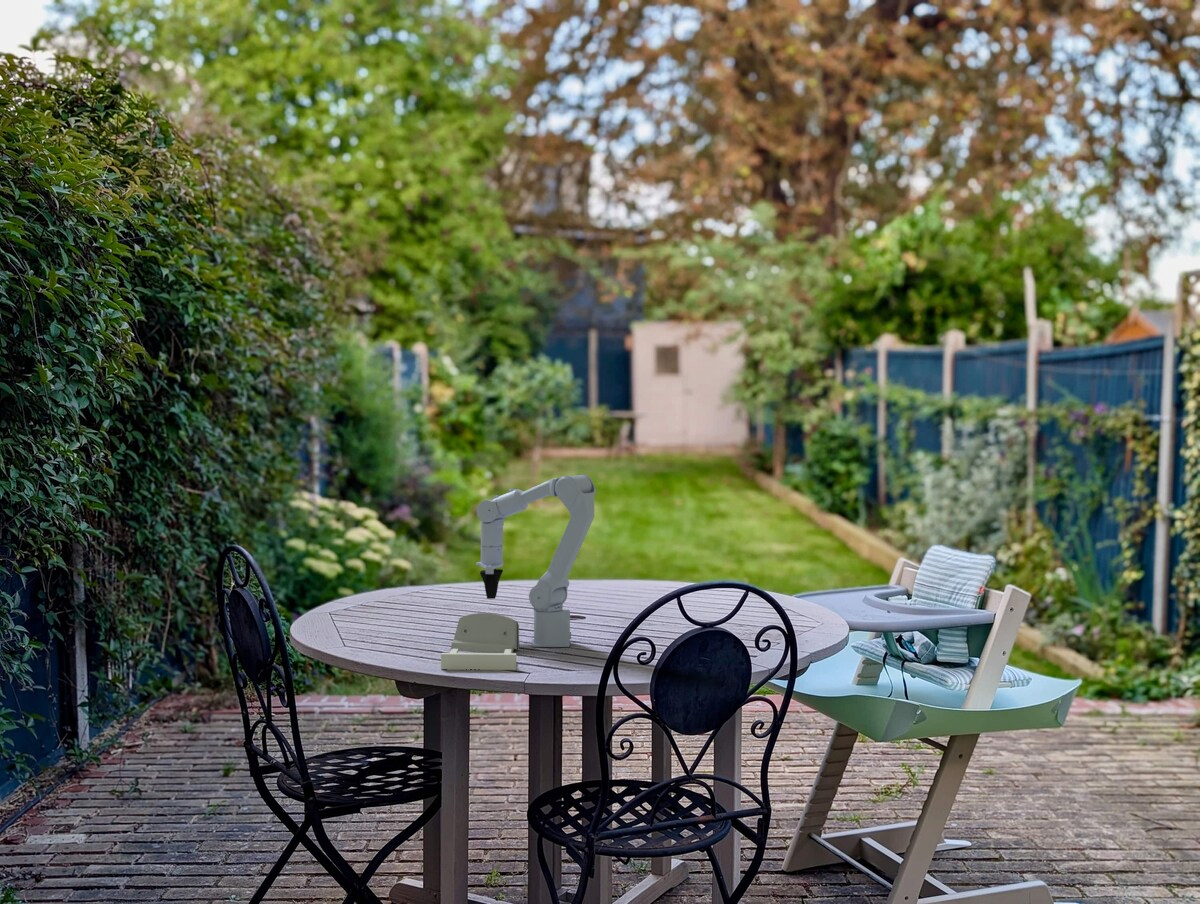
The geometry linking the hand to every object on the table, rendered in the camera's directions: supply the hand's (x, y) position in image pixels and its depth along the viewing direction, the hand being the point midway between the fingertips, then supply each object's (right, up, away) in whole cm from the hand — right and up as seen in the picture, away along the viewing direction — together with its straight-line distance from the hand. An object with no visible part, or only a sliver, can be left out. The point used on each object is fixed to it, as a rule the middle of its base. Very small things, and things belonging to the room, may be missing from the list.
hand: (491, 598), depth 293 cm
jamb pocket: (+1, -11, -32) cm, 34 cm away
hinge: (0, -11, -13) cm, 18 cm away
